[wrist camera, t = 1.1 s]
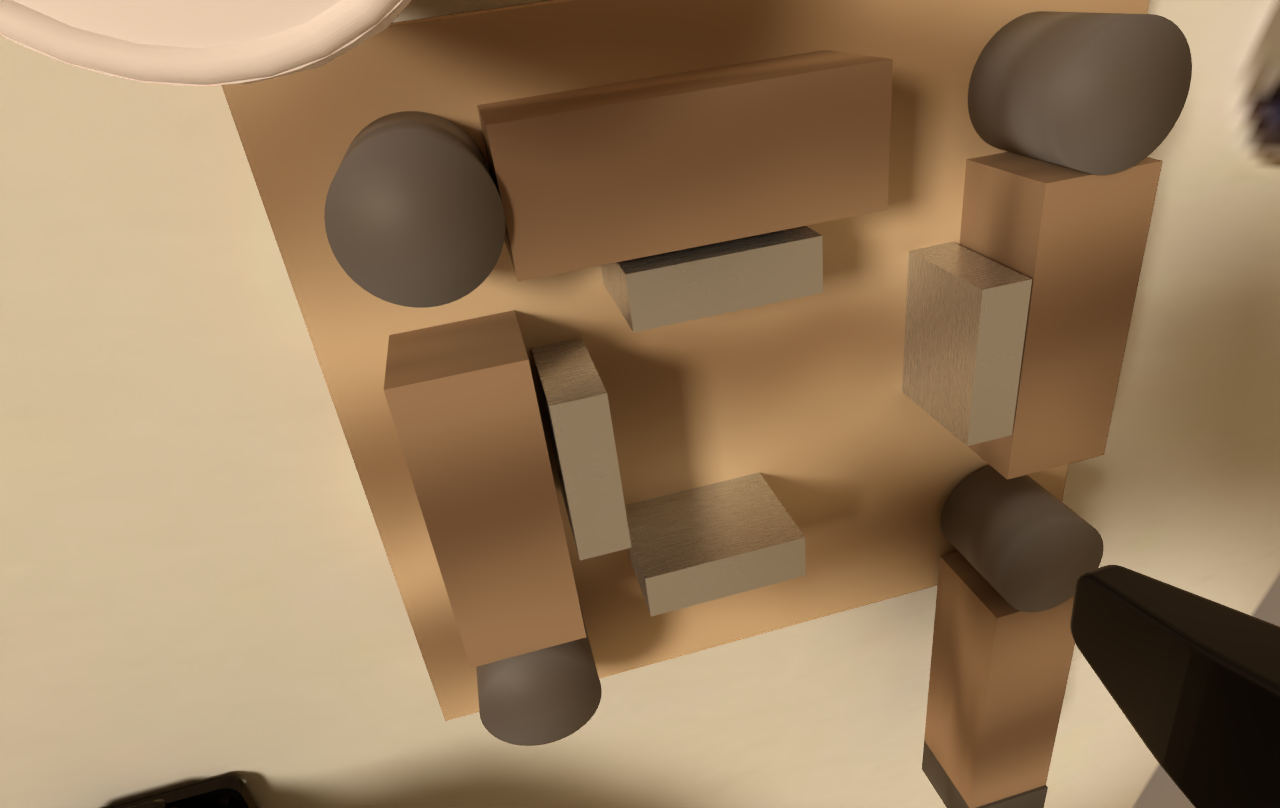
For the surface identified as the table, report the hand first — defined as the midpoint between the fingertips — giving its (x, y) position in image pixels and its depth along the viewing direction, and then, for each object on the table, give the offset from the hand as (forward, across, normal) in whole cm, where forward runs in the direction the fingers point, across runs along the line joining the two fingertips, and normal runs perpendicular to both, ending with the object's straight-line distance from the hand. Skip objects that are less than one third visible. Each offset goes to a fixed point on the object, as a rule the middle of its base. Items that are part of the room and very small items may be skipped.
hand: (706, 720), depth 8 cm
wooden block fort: (+13, -5, +2) cm, 14 cm away
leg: (+11, -11, +14) cm, 21 cm away
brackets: (+11, -5, +2) cm, 13 cm away
